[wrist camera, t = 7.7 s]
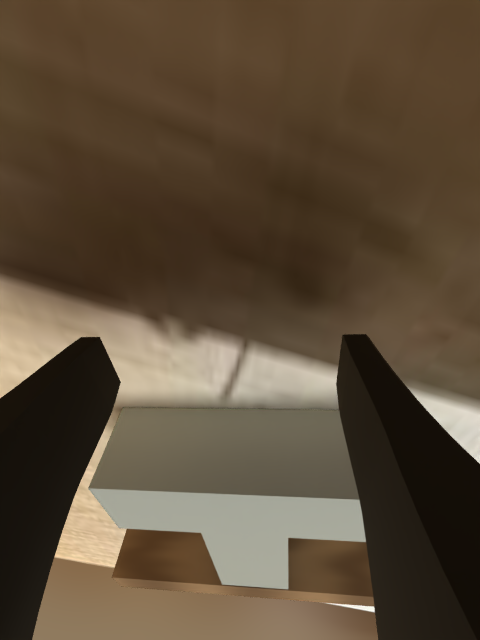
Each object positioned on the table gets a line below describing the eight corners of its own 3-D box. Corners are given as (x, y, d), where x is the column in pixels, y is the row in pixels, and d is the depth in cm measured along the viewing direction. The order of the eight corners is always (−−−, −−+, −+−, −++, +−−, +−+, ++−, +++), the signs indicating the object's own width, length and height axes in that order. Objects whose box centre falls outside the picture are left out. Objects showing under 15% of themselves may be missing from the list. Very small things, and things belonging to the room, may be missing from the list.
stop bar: (392, 523, 22) (410, 599, 19) (386, 535, 24) (403, 608, 20) (132, 510, 24) (111, 577, 21) (140, 521, 26) (121, 586, 23)
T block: (374, 409, 15) (399, 501, 12) (346, 520, 23) (357, 594, 20) (122, 406, 17) (88, 488, 14) (173, 511, 24) (159, 579, 21)
